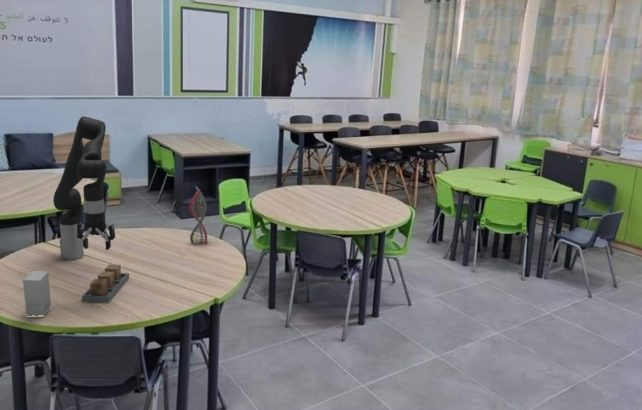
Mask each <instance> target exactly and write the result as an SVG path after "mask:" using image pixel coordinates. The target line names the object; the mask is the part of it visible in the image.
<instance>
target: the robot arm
mask: <svg viewBox="0 0 642 410" xmlns="http://www.w3.org/2000/svg"><path fill="white" fill-rule="evenodd" d="M106 128H107V127H106V124H105V122H104V121H103V120H99V119H95V118H94V117H93V118H91V117H90V116H89V117H88V116H84V115H83V116H81V117H79V119H78V121H77V125H76V128H75V133H74V136H73V142H72V145H71V147H70V151H69V154H68V157H67V159H66V163H65V166H64V169H63V170H64V171H63V173H62V175H61V179H60V181H59V183H58V185H57V188H56V189H55V192H54V195H53V201H52V202H53V205H54V208H55V209H56V210H57V211H66V212H65V213H64V214H62V215H61V216H60V217H59V219H58V220H59V229H60V230H59V231H60V238H59V250H60V258H61V259H63V260H67V261H70V260H71V261H72V260H73V261H74V260H78V259H81V258H83V257H85V256H84V255H85V253H84V252H85V251H84V250H87V249H88V248H89V238H88V237H89V236H90V235H91V236H101V238H103V239H104V241H105V250H106V251H109V249H111V247H112V246H111V245H112V243H111V241H113V240H114V239H115V238H116V232H115V230H116V229H115V224H114V223H111V224H107V223H106V207H105V201H104V182H105V177H106V174H107V169H108V167H107V164H106V162H105V161H103V160H102V149H103V146H104V140H105V136H106ZM83 139H84V140H88V142H86V143H85V144H84V142H83ZM83 179H84V180H85V179H96V180H95V181H94V182H91V183H87V184H85V185H84V186H83V207H82V196H81V193H80V192H79V190H78V189H77V188H74V187H76V186H77V185H78V184H79V183H80V182H81V181H82V180H83ZM82 208H83V209H82ZM82 211H84V212H82ZM83 213H84V215H82V214H83ZM82 216H84V222H85V223H83V222H82ZM84 229H85V230H86V231H85V233H84V231H83V230H84Z"/></svg>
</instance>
